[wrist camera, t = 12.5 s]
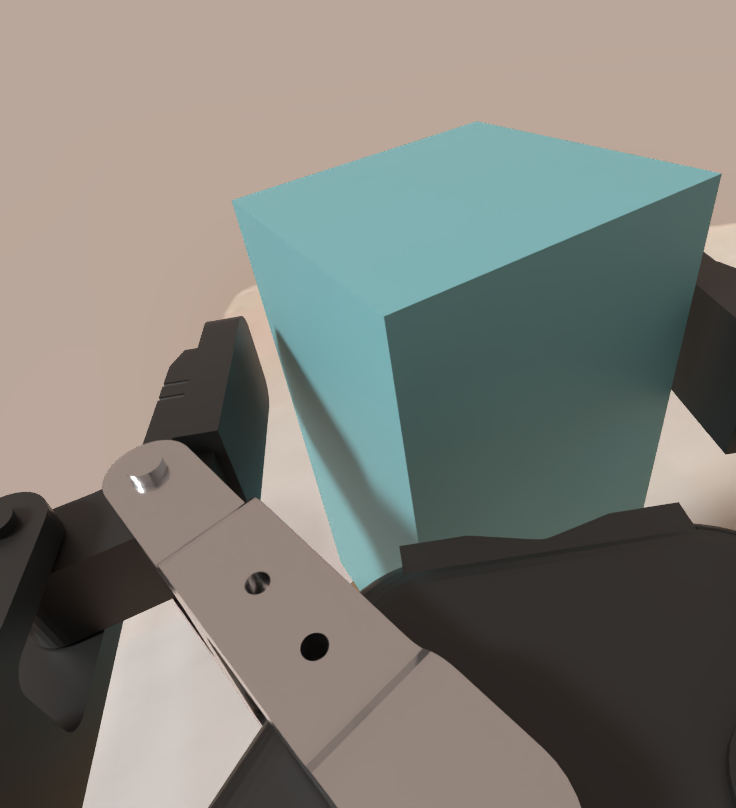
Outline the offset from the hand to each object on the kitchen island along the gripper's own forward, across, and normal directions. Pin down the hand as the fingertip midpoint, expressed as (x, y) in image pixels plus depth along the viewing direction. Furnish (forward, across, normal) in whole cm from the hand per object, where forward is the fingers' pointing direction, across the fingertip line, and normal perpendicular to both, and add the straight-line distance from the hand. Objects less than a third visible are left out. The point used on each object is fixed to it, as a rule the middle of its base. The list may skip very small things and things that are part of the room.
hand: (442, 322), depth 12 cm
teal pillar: (-1, 0, +8) cm, 8 cm away
